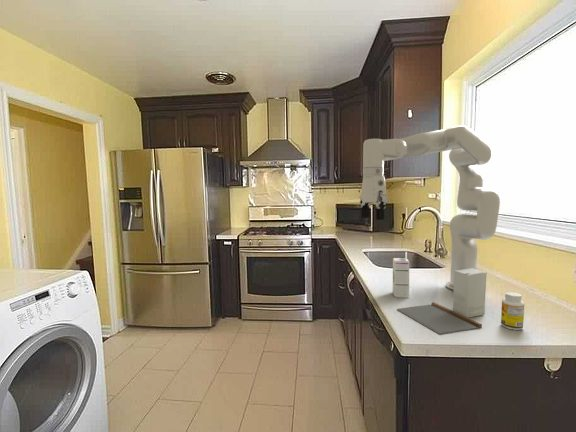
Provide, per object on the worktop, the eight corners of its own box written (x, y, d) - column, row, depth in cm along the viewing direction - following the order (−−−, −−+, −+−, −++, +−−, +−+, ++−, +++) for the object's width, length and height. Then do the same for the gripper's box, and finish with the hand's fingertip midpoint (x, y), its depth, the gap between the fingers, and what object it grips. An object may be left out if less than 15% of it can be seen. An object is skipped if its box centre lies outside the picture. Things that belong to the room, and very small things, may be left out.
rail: (433, 305, 114) (433, 301, 114) (481, 327, 95) (481, 324, 95) (431, 305, 114) (431, 302, 114) (479, 328, 95) (479, 324, 95)
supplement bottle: (501, 321, 100) (503, 290, 99) (523, 326, 96) (525, 293, 95) (499, 327, 95) (501, 294, 95) (522, 332, 92) (524, 298, 91)
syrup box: (409, 298, 122) (410, 261, 121) (393, 297, 123) (394, 260, 122) (406, 293, 127) (407, 258, 126) (391, 292, 129) (392, 257, 127)
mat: (430, 305, 114) (430, 304, 114) (477, 328, 95) (477, 327, 95) (396, 309, 110) (396, 308, 110) (439, 334, 91) (439, 333, 91)
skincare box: (470, 309, 110) (471, 267, 109) (485, 315, 105) (488, 271, 103) (451, 312, 108) (453, 269, 106) (466, 318, 102) (468, 273, 101)
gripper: (396, 171, 110) (395, 220, 112) (369, 174, 127) (368, 216, 128) (377, 171, 108) (376, 220, 109) (352, 174, 124) (352, 217, 126)
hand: (372, 218), depth 119 cm, fingers open, 9 cm apart
